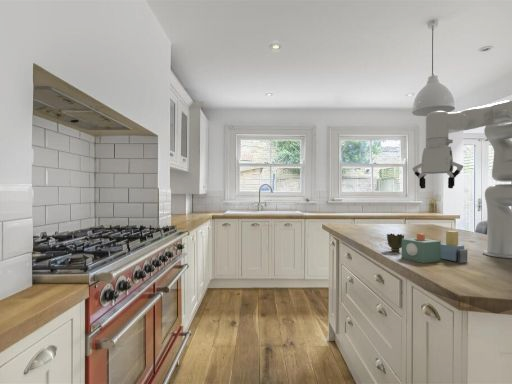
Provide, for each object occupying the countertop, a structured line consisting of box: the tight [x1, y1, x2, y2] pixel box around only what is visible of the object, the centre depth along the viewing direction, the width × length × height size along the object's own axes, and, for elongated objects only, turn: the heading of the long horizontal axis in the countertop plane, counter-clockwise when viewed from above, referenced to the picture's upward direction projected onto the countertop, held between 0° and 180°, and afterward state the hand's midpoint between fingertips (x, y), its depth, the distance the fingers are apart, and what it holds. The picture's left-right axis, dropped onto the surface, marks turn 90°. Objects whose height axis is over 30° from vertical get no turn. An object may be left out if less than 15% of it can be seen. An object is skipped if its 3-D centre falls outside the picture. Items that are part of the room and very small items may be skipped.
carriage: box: [440, 230, 465, 262], centre depth 122 cm, size 6×6×11 cm
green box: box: [401, 237, 442, 264], centre depth 123 cm, size 10×10×8 cm
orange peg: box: [416, 233, 426, 241], centre depth 123 cm, size 3×3×8 cm
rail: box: [440, 248, 468, 264], centre depth 127 cm, size 4×19×5 cm, turn 24°
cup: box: [386, 233, 405, 253], centre depth 139 cm, size 8×7×8 cm
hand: (436, 188), depth 115 cm, fingers open, 9 cm apart
